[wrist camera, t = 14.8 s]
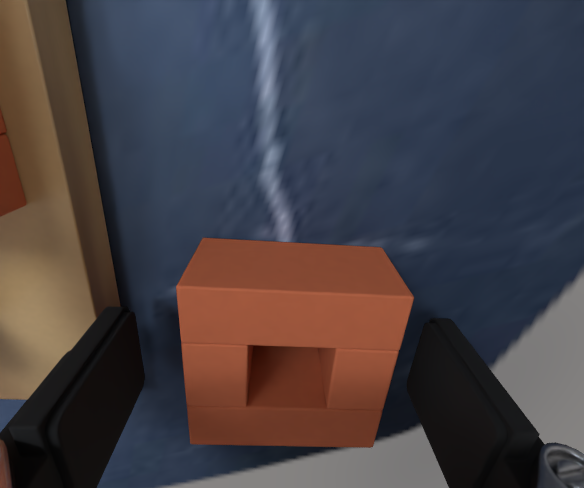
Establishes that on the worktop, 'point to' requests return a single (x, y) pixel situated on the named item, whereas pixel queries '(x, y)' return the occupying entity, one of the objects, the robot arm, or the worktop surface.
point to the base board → (47, 200)
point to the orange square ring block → (289, 342)
